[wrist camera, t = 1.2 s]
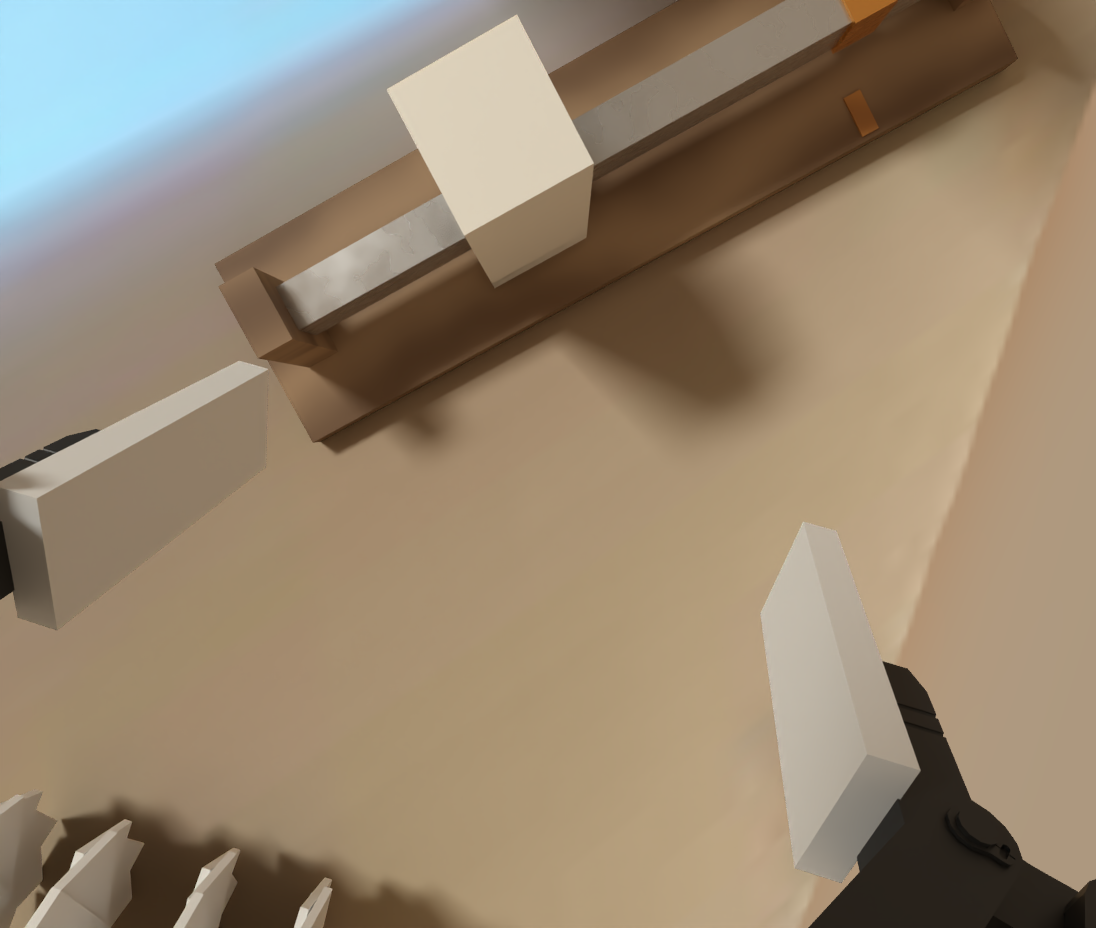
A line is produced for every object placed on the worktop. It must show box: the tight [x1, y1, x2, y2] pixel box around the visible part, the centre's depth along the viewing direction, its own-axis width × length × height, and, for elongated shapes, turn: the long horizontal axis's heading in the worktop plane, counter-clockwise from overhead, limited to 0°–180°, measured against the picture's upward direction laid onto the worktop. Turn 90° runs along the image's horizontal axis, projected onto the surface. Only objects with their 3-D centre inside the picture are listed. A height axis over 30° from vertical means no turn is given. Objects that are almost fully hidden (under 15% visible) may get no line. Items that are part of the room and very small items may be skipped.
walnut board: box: [215, 0, 1018, 442], centre depth 37 cm, size 12×46×8 cm, turn 118°
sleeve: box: [387, 15, 594, 288], centre depth 34 cm, size 7×6×12 cm
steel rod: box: [276, 0, 920, 335], centre depth 36 cm, size 3×42×3 cm, turn 118°
